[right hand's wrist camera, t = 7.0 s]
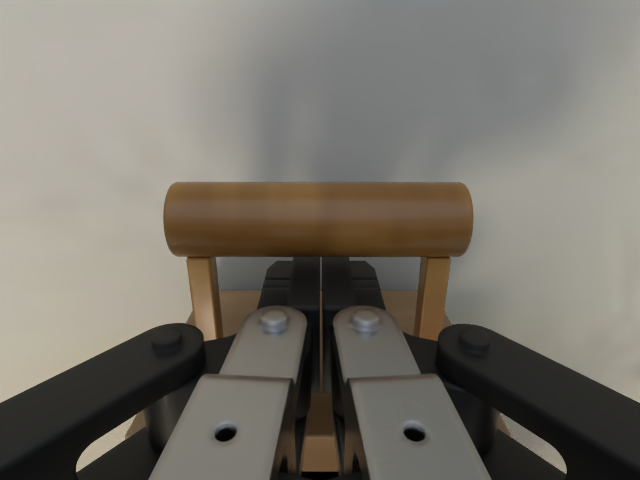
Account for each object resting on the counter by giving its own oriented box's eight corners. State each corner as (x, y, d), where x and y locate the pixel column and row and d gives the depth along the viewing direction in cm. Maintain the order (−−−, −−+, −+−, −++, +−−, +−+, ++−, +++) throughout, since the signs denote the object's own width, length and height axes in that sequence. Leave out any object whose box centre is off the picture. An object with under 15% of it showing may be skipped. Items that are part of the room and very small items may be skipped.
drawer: (186, 149, 14) (70, 211, 8) (450, 149, 14) (565, 212, 8) (233, 551, 22) (197, 754, 15) (403, 550, 22) (439, 752, 15)
